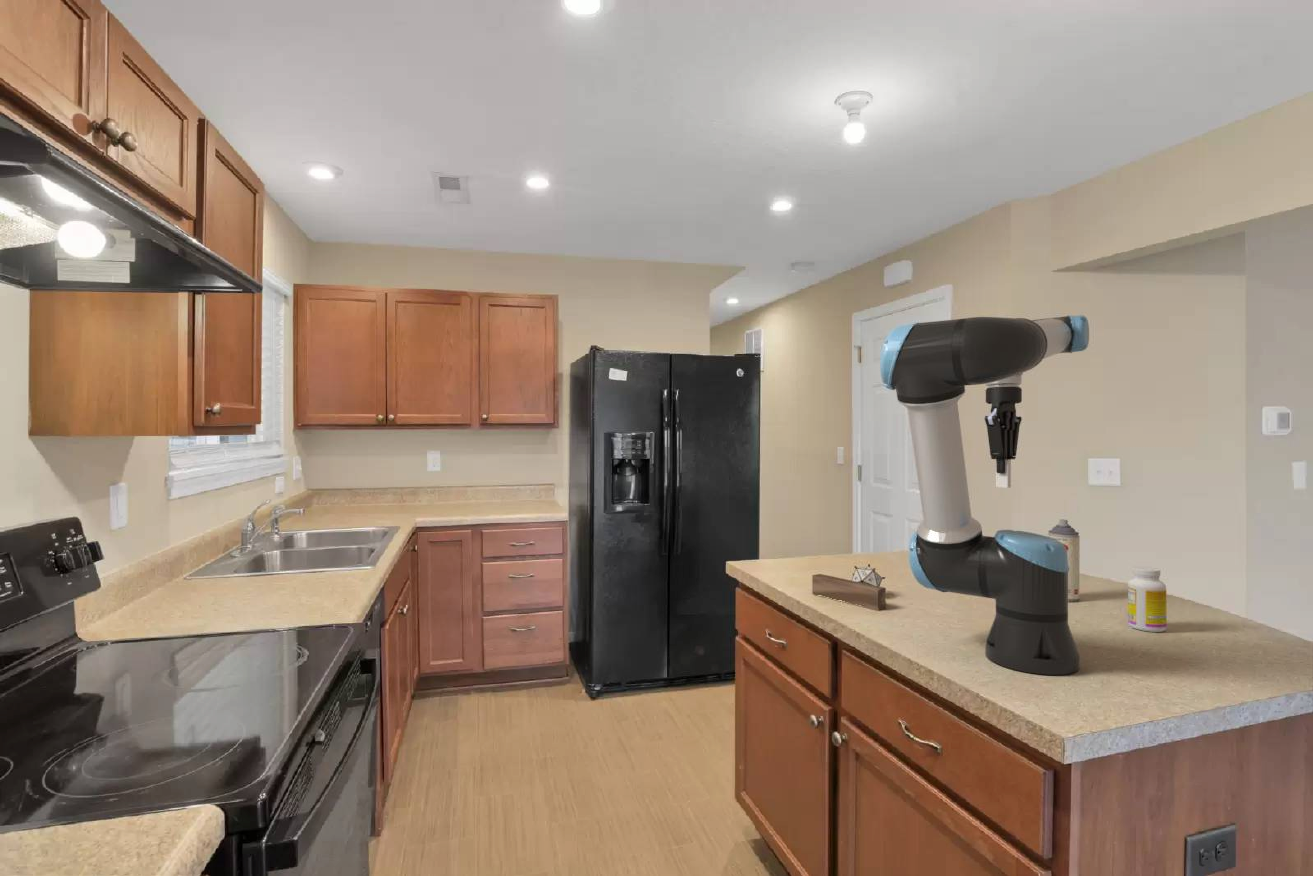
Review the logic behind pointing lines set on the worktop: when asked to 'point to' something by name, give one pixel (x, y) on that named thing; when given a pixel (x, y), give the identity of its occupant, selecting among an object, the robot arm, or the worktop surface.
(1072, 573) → the aerosol can
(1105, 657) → the worktop surface
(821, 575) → the rail
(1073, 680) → the worktop surface
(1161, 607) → the supplement bottle
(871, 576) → the game die
